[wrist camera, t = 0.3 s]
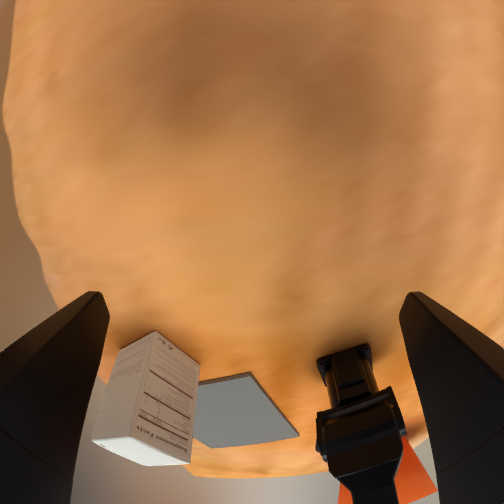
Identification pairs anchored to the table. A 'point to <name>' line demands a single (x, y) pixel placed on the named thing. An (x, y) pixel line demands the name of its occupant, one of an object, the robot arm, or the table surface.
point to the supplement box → (150, 404)
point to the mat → (237, 414)
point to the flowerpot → (403, 479)
